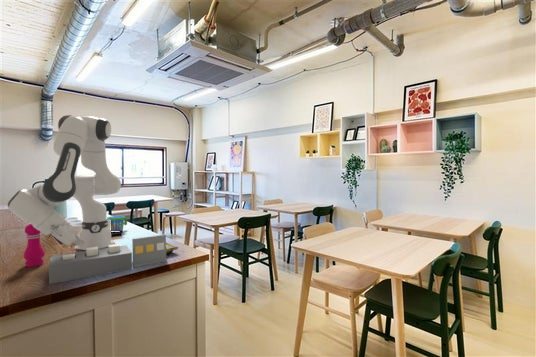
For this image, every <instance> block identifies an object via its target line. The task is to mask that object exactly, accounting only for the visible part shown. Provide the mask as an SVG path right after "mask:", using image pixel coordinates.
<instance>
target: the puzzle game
mask: <svg viewBox="0 0 536 357" xmlns="http://www.w3.org/2000/svg"><path fill="white" fill-rule="evenodd" d="M178 249H179V246H178V245H175V244H172V243H170V242H169V243H168V242H167V241H166V255H168V254H171V253H173V252H174V251H176V250H178Z"/></svg>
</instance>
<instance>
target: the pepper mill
mask: <svg viewBox="0 0 536 357" xmlns="http://www.w3.org/2000/svg"><path fill="white" fill-rule="evenodd" d="M24 233H25V234H26V239H27V245H26V249H25V250H24V251H23V253H24V254H23V259H24V260H25V263H24V264H25V265H24V266H25V267H27V268H35V267H37V266H38V267H39V266H41V265H44V263H45V262H44V260H45V259H44V256H45V255H46V254H45V253H46V252H45V249H44V248H43V246H42V244H41V238H42V233H41V232H40V231H39V230H37V229H36V228H34V227H33V225H32V224H30V223H29V224H27V225H25V227H24Z"/></svg>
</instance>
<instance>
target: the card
mask: <svg viewBox="0 0 536 357" xmlns="http://www.w3.org/2000/svg"><path fill="white" fill-rule="evenodd" d="M166 242H167V234H159V235H150V236H144V237H143V236H142V237H134V238H132V268H140V267H144V266H150V265H154V264H161V262H162V263H167V262H168V258H167V254H166Z"/></svg>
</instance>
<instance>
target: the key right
mask: <svg viewBox="0 0 536 357" xmlns="http://www.w3.org/2000/svg"><path fill="white" fill-rule="evenodd" d="M120 246H121V245H120V244H119V243H115V244H112V245H108V247H107V248H108V253H114V252H120Z"/></svg>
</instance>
